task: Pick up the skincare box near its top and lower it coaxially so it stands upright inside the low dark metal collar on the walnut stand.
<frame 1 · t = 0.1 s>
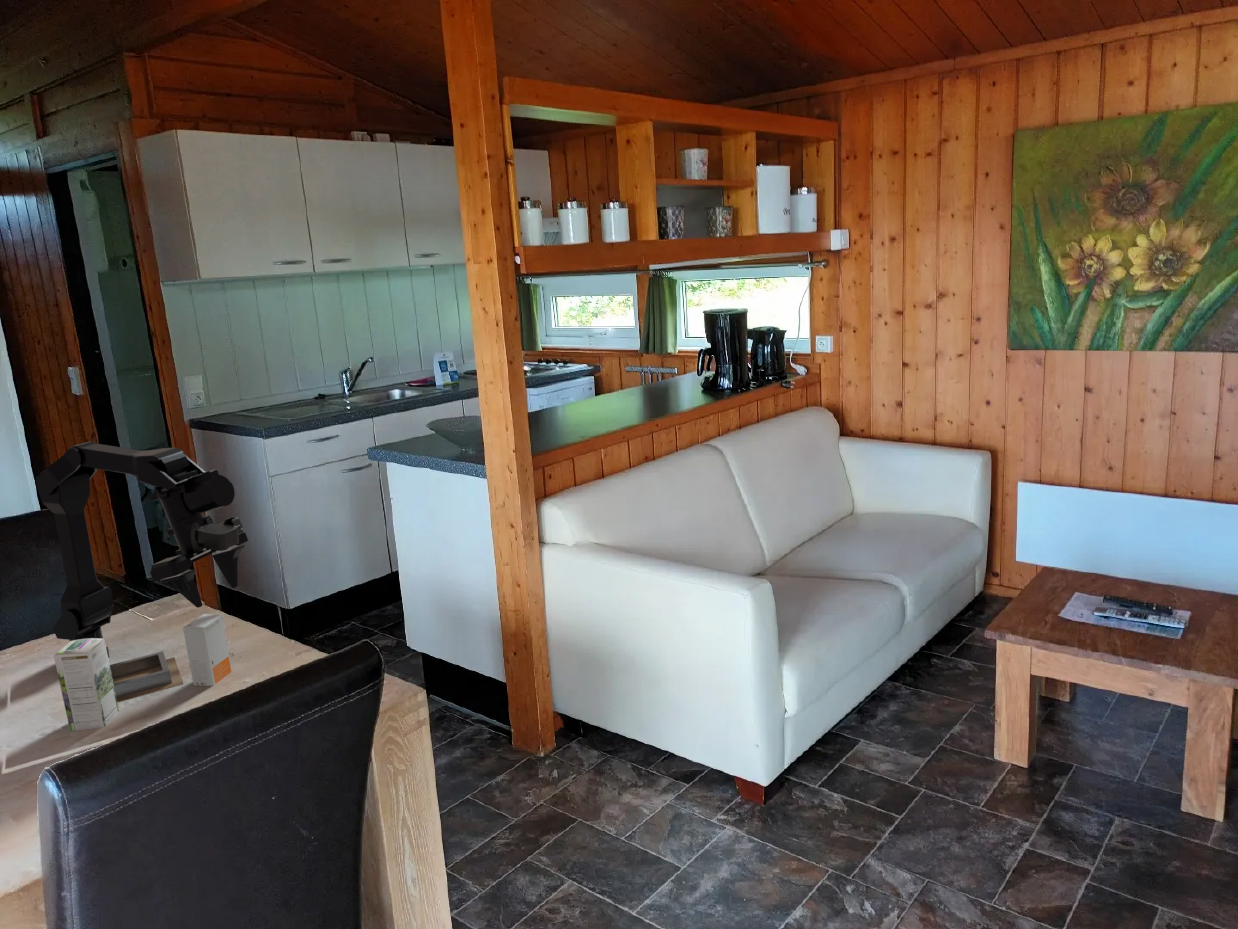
hand: (218, 597, 168), 15 cm above the table, tool pointing down, fingers open, 9 cm apart
metal collar: (137, 681, 170), resting on walnut stand
walnut stand: (138, 684, 171), on the table
skincare box: (214, 681, 170), on the table
syrup box: (96, 724, 157), on the table
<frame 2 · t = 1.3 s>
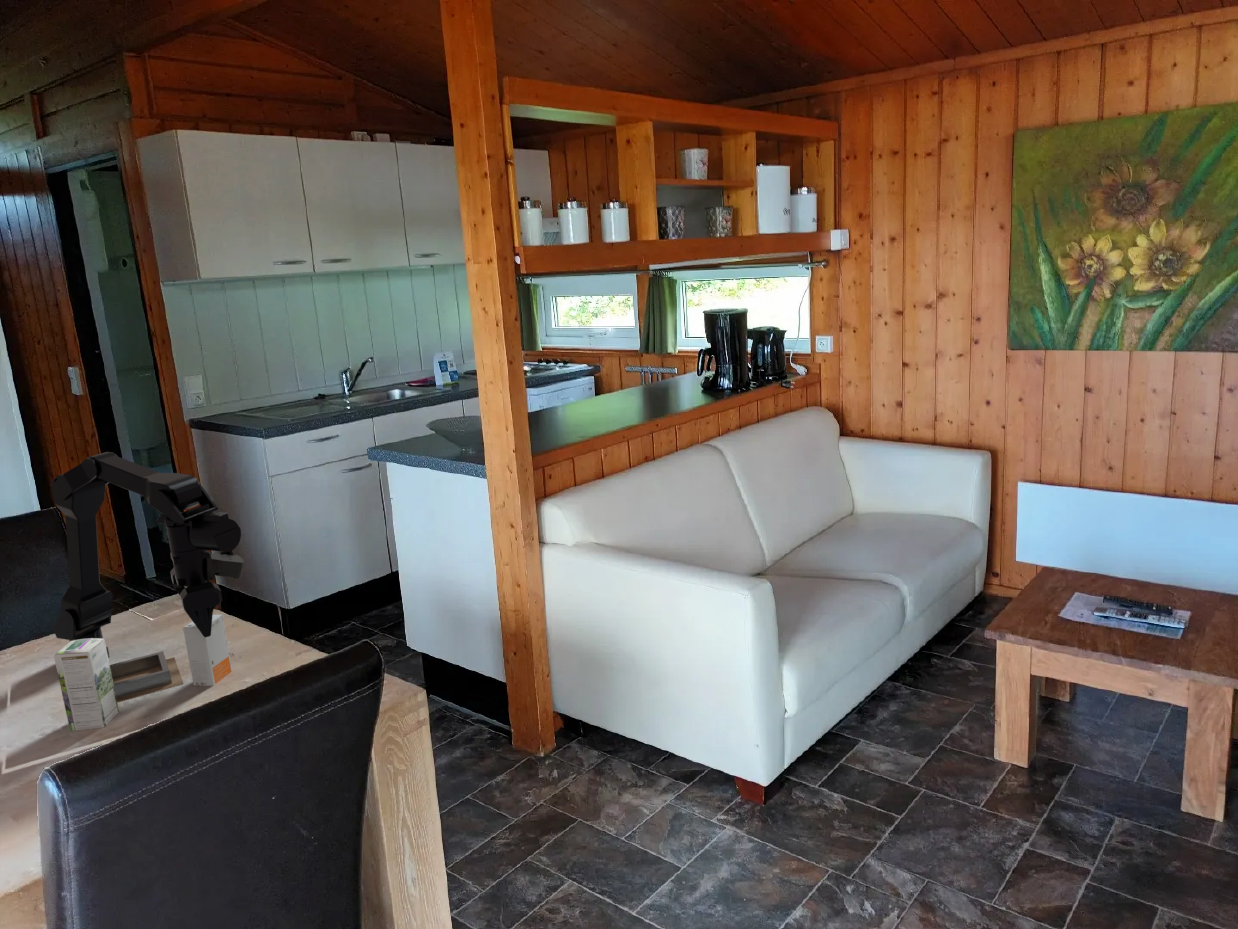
hand: (203, 628, 167), 10 cm above the table, tool pointing down, fingers open, 9 cm apart
nothing on the table moved.
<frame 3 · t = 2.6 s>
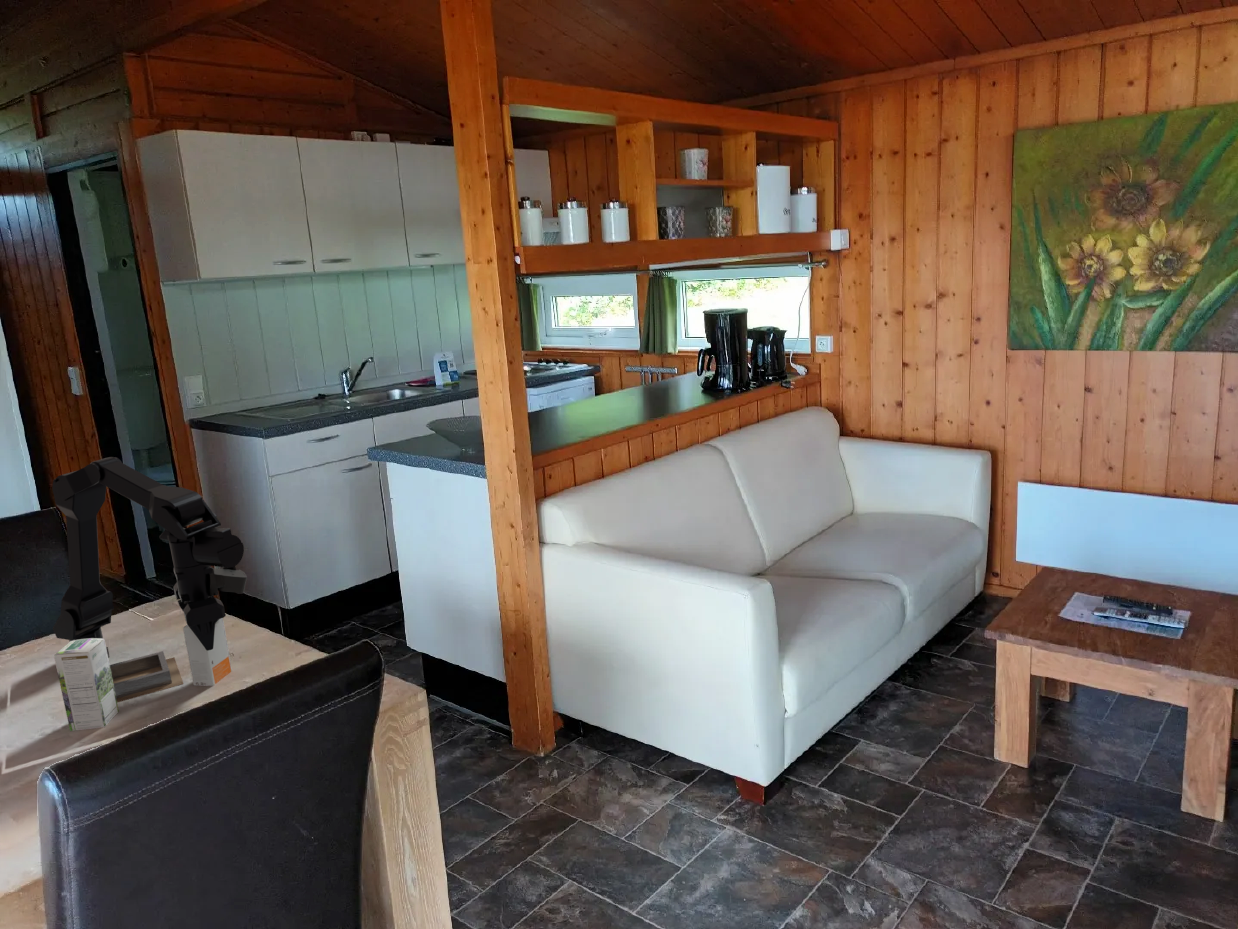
hand: (206, 643, 168), 8 cm above the table, tool pointing down, fingers closed on skincare box, 7 cm apart
skincare box: (214, 681, 170), on the table, touching gripper
everything else where it was.
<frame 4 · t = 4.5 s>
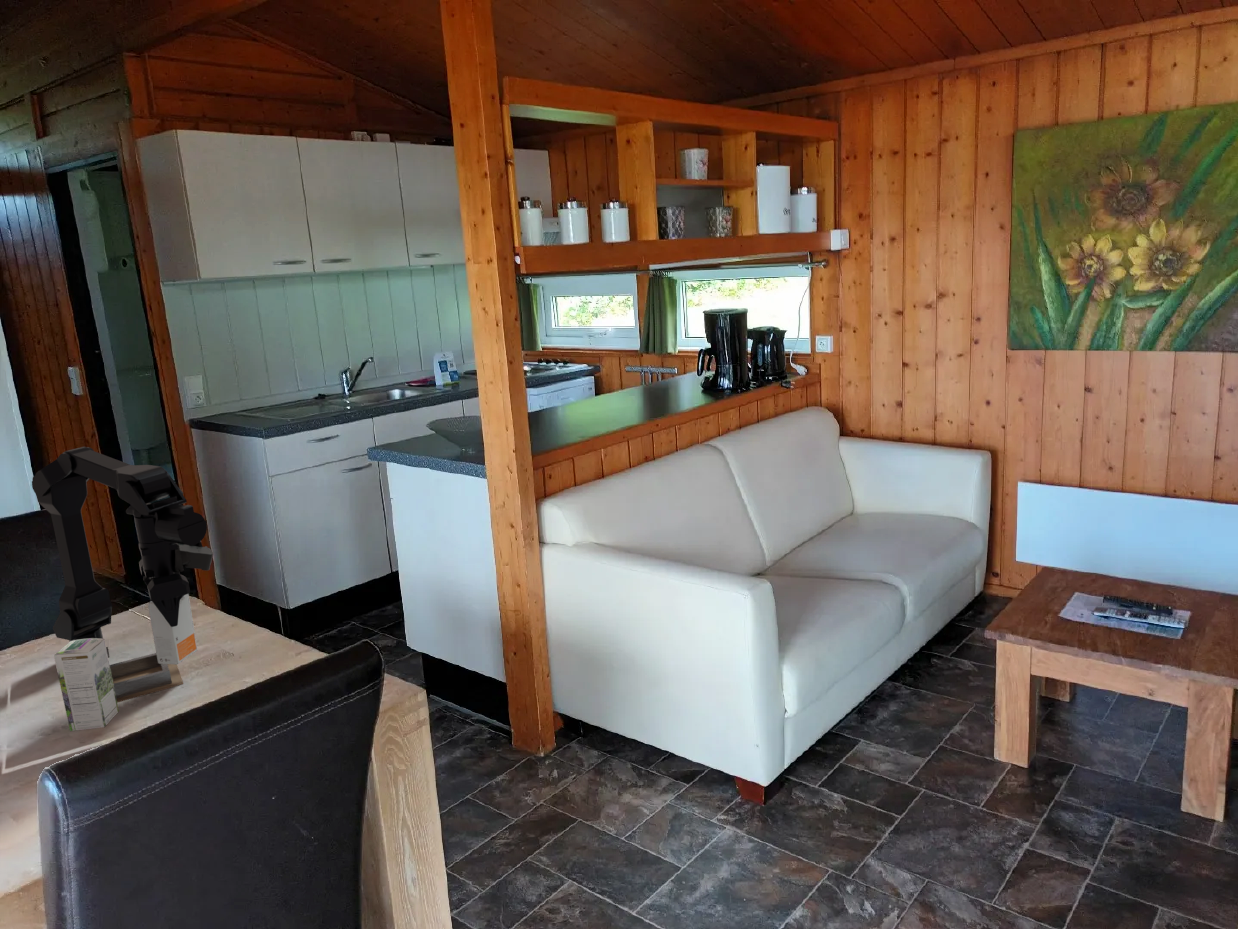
hand: (171, 619, 167), 12 cm above the table, tool pointing down, fingers closed on skincare box, 7 cm apart
skincare box: (179, 658, 169), point 5 cm above the table, touching gripper
everything else where it was.
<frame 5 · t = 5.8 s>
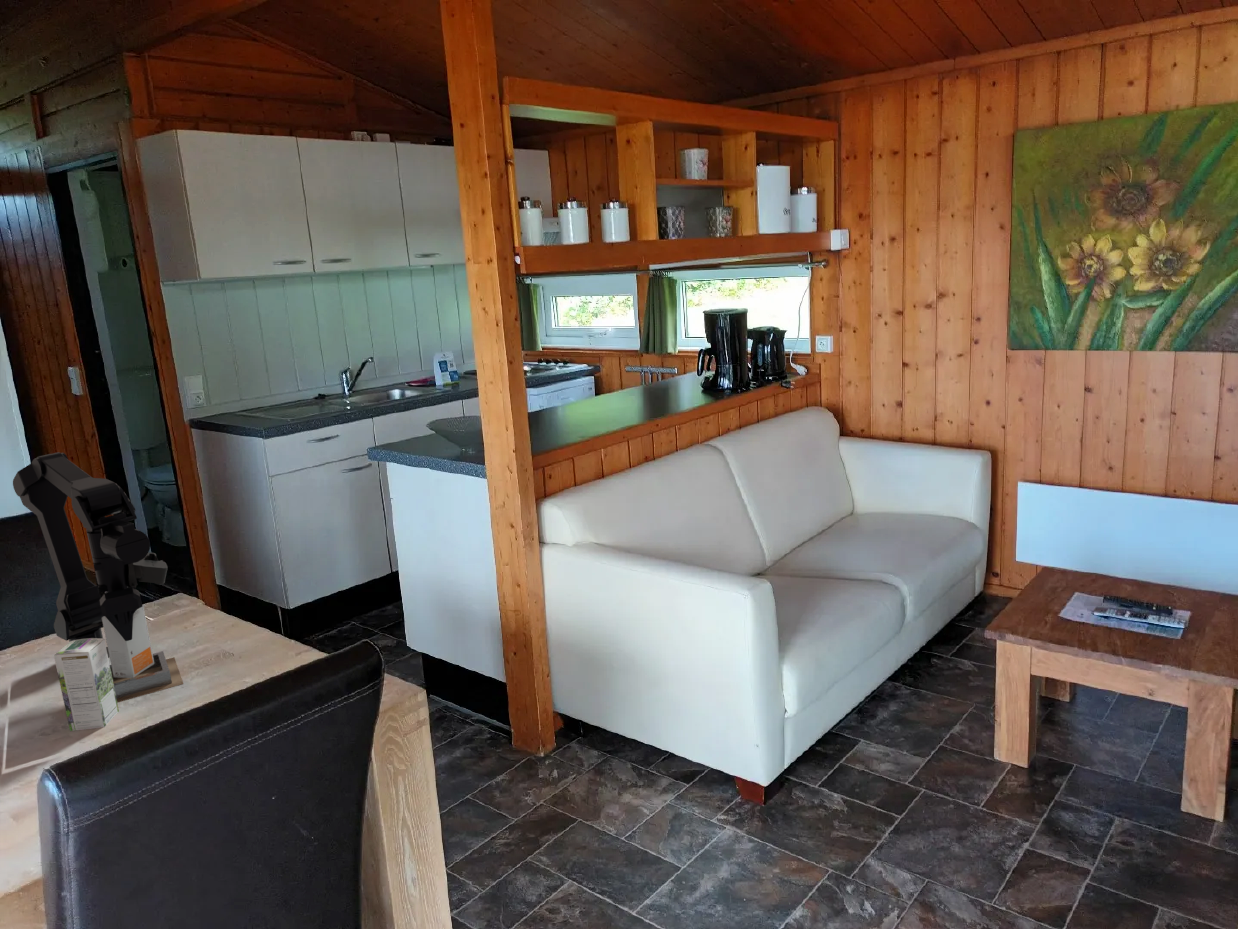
hand: (127, 633, 168), 10 cm above the table, tool pointing down, fingers closed on skincare box, 7 cm apart
skincare box: (135, 672, 170), point 2 cm above the table, touching gripper
everything else where it was.
when the fingers open (10 cm above the table, at t = 6.9 s): skincare box drops 1 cm, resting on walnut stand.
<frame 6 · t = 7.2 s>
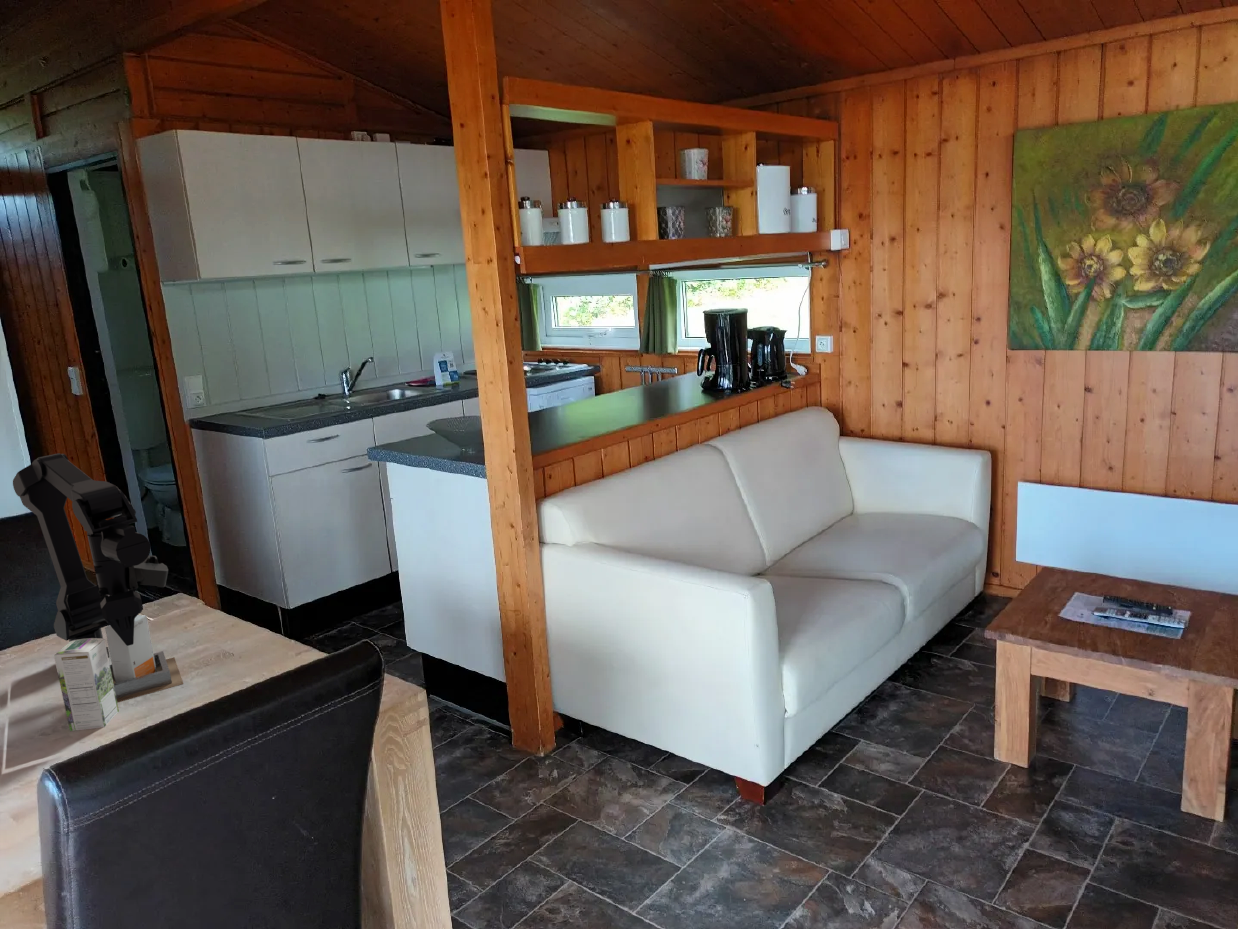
hand: (128, 636, 168), 10 cm above the table, tool pointing down, fingers open, 9 cm apart
skincare box: (137, 681, 171), resting on walnut stand
everything else where it was.
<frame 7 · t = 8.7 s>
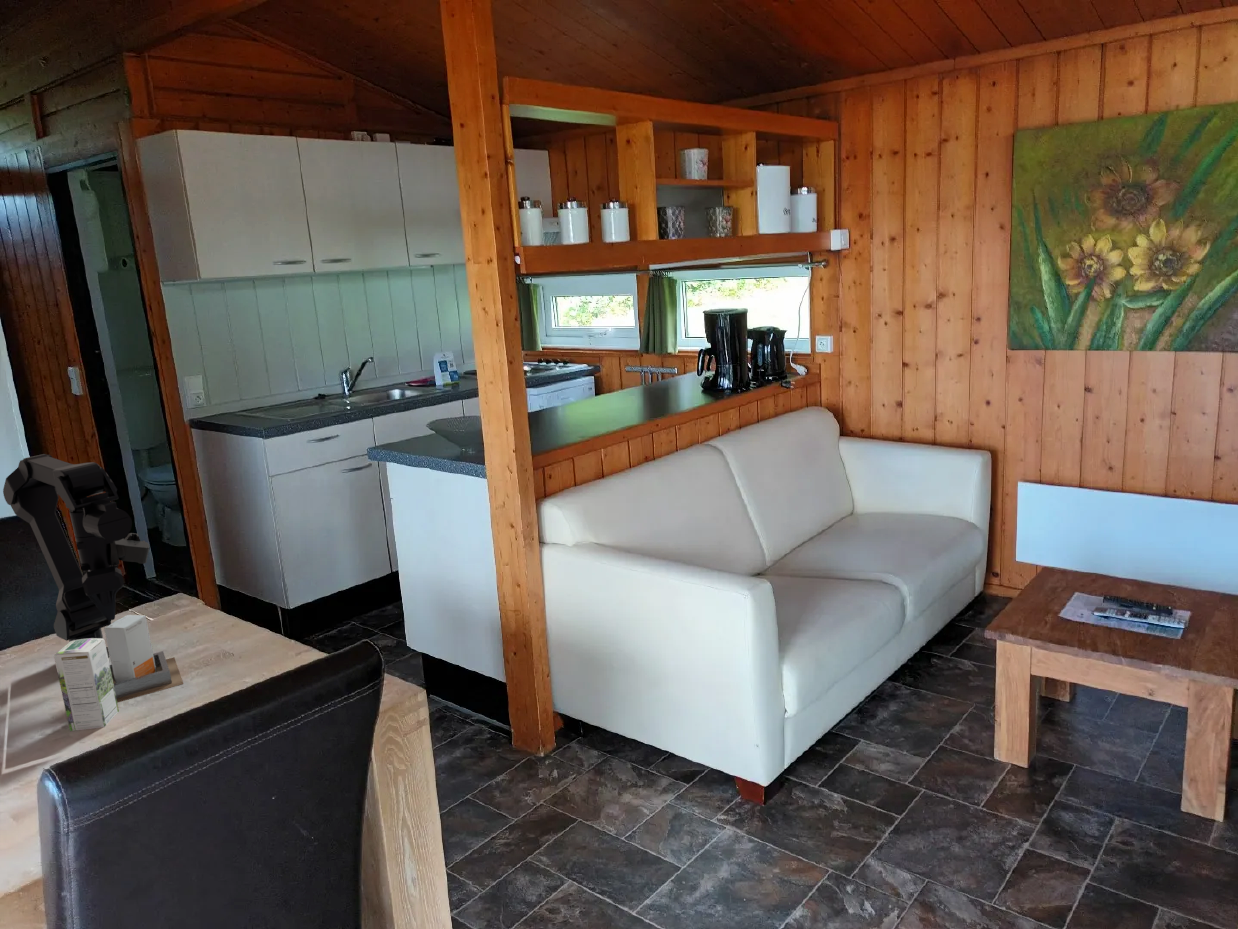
hand: (110, 612, 171), 13 cm above the table, tool pointing down, fingers open, 9 cm apart
nothing on the table moved.
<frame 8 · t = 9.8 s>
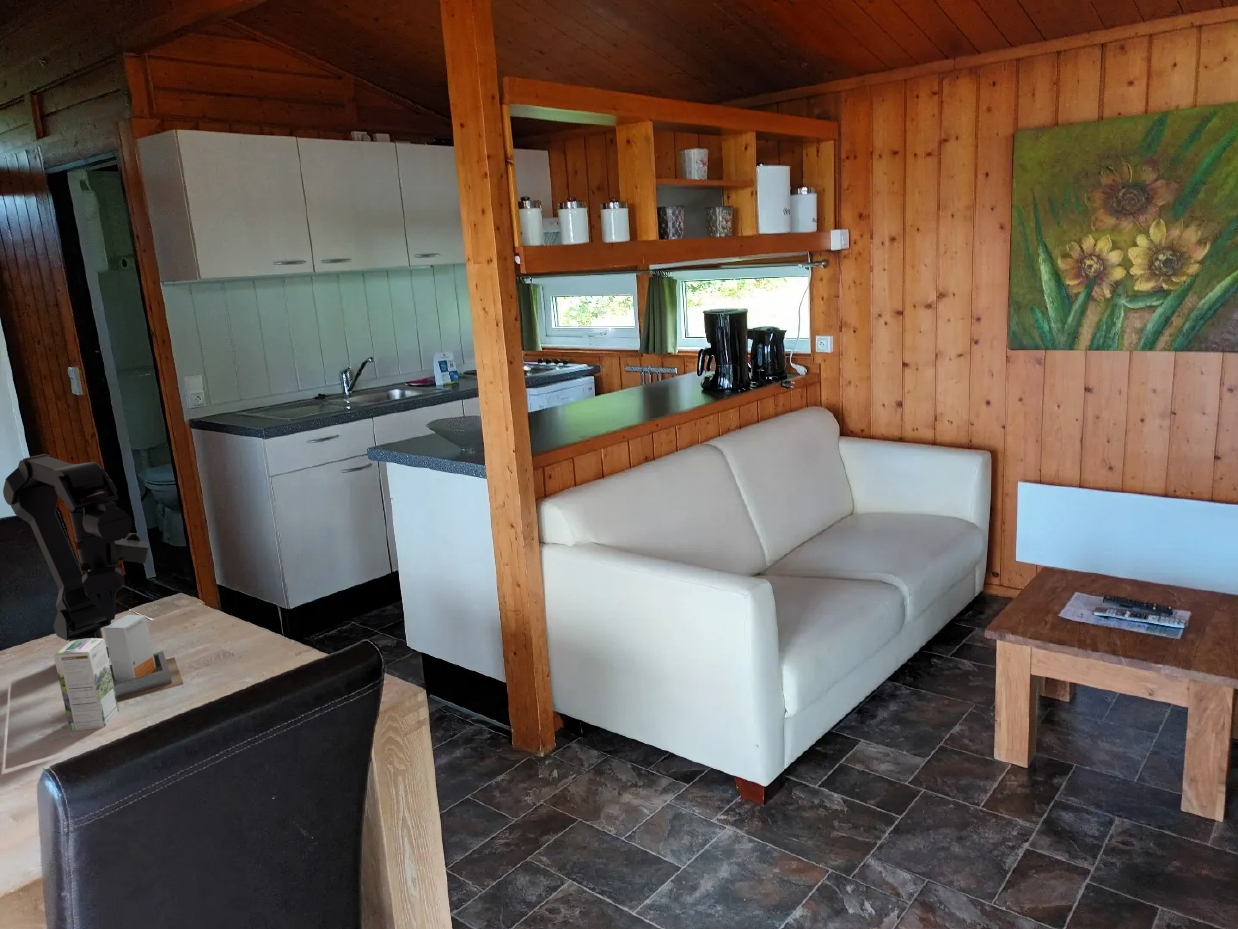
hand: (109, 612, 171), 13 cm above the table, tool pointing down, fingers open, 9 cm apart
nothing on the table moved.
at the end: skincare box 0.1 cm off-centre on the metal collar, point 0.0 cm above the metal collar's base; skincare box tilted 0°; the gripper is holding nothing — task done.
